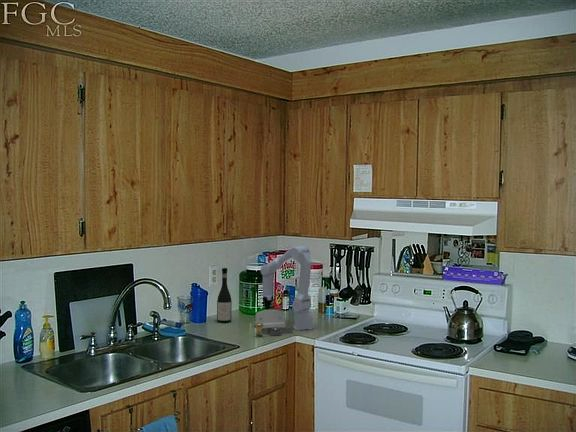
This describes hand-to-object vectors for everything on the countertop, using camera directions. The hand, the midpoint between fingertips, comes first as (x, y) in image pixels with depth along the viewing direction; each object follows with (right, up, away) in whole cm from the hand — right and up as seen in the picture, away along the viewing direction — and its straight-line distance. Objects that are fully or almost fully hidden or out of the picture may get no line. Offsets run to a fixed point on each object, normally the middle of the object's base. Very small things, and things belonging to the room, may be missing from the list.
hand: (267, 310), depth 313 cm
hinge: (+2, -7, -10) cm, 13 cm away
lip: (+5, -8, -28) cm, 30 cm away
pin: (-3, -8, -31) cm, 32 cm away
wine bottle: (-24, -6, -2) cm, 25 cm away
